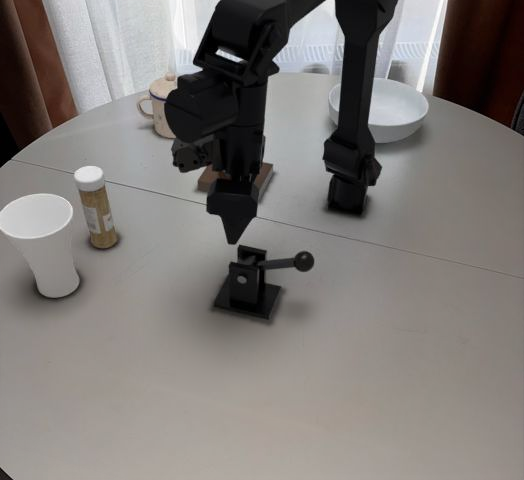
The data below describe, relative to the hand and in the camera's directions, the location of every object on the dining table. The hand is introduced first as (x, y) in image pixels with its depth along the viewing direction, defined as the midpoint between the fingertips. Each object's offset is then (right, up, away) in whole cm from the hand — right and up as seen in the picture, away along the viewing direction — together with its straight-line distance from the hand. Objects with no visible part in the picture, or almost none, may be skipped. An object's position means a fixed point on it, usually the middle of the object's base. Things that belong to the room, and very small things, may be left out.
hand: (234, 225), depth 82 cm
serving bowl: (+28, +30, +44) cm, 60 cm away
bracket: (+2, -10, +10) cm, 14 cm away
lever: (+6, -6, +3) cm, 10 cm away
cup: (-29, -7, +11) cm, 32 cm away
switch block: (-1, +15, +30) cm, 34 cm away
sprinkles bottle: (-23, +1, +18) cm, 30 cm away
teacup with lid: (-16, +30, +43) cm, 55 cm away
